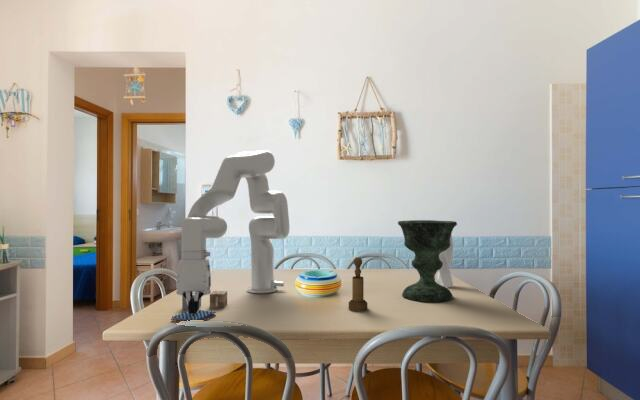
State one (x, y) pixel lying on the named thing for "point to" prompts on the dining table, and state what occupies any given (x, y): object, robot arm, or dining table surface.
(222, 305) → the walnut number block
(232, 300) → the dining table surface
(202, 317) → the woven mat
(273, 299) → the dining table surface
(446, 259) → the skyscraper
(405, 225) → the goblet
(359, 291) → the brown tall piece
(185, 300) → the charcoal number block
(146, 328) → the dining table surface
